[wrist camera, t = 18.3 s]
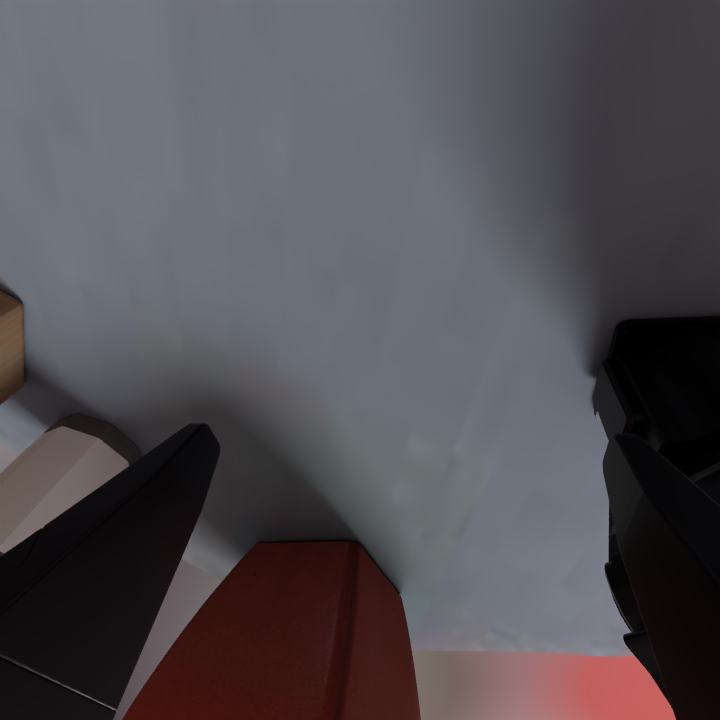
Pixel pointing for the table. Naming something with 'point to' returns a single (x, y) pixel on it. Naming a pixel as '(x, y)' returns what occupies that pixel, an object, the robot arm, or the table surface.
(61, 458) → the wine bottle
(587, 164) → the table surface
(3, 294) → the wooden block
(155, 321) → the table surface
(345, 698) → the plant pot
